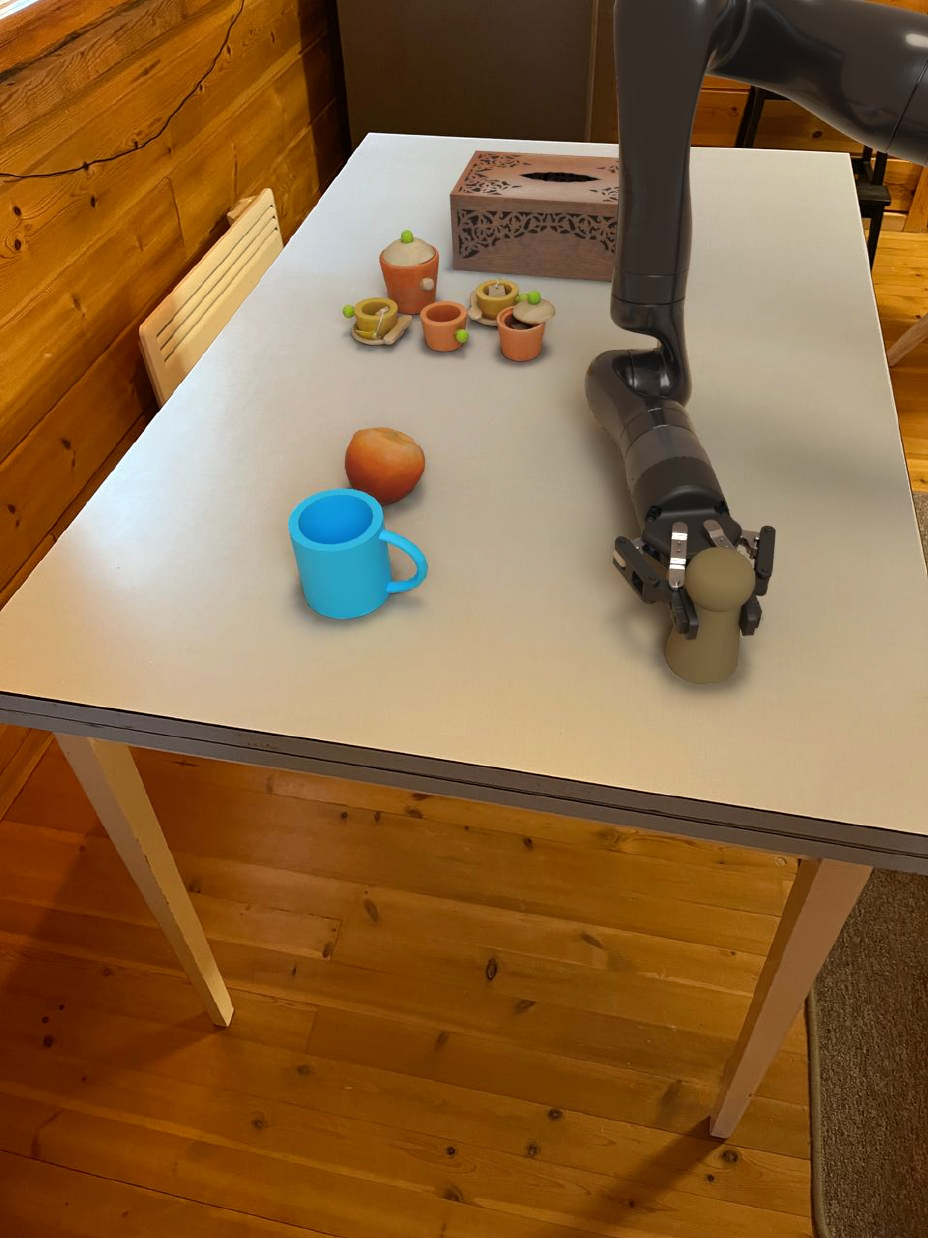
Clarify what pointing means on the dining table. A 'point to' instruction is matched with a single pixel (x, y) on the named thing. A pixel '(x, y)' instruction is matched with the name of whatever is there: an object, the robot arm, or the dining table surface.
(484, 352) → the dining table surface
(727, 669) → the cork
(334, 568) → the mug
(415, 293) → the toy tea set
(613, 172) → the tissue box cover
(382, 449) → the fruit
